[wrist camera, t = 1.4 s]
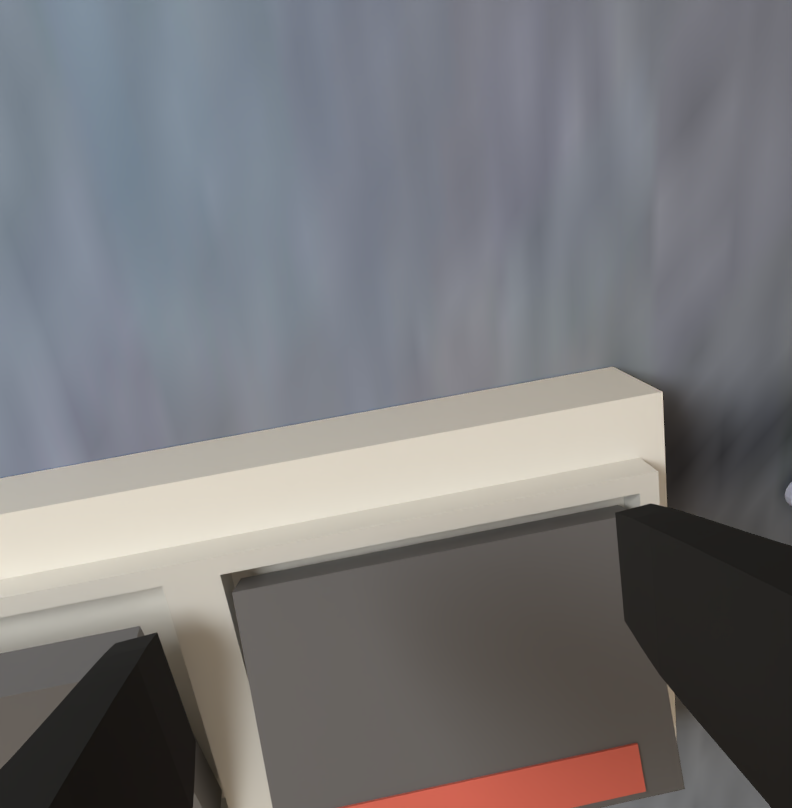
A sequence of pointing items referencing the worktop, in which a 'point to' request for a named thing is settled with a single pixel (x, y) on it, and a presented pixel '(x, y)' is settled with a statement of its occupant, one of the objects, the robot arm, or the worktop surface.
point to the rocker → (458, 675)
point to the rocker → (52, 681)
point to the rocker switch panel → (302, 522)
